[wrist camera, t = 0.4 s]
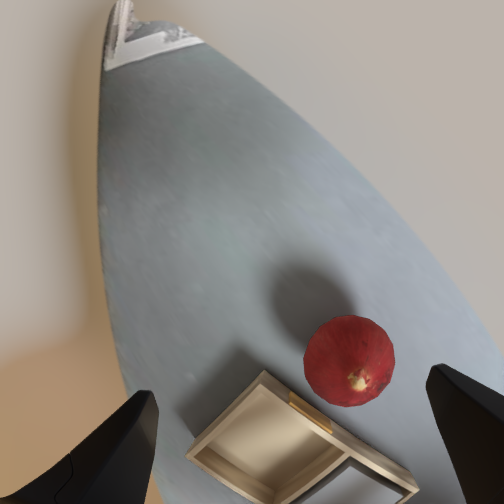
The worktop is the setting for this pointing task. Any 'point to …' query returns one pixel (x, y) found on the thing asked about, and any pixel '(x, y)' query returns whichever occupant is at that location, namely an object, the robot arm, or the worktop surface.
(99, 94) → the worktop surface
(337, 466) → the wooden compartment tray
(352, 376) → the red rounded piece
